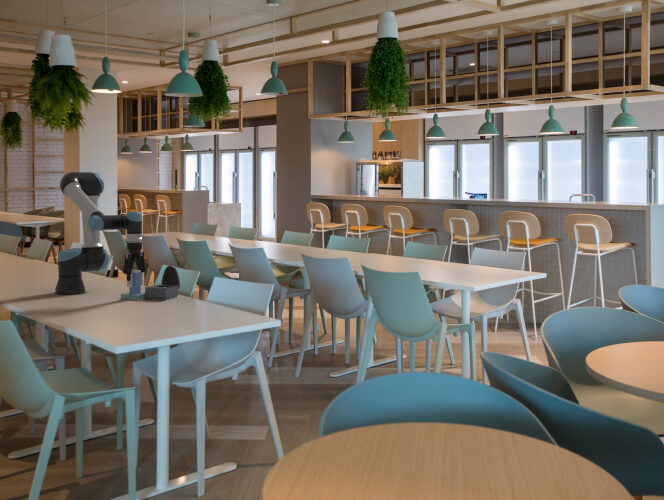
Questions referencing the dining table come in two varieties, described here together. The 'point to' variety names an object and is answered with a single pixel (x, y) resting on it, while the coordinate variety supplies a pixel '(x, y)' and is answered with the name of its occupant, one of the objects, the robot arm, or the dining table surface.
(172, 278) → the black egg shape
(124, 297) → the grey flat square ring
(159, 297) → the port
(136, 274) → the plug
